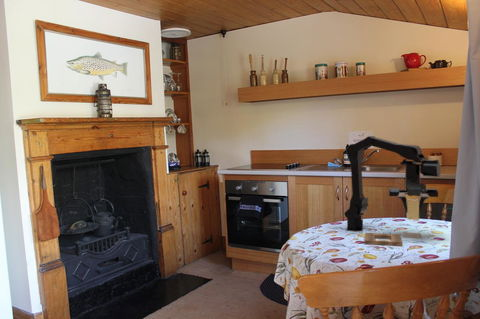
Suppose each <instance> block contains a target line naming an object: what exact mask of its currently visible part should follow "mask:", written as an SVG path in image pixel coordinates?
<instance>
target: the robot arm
mask: <svg viewBox="0 0 480 319" xmlns="http://www.w3.org/2000/svg"><path fill="white" fill-rule="evenodd" d="M371 147H375V148H378V149H382V150H385V151H389V152H392V153H395V154H397V155H398V156H400V157H402V158H404V159H403V160H402V161H401V162H400V163H399V164H400V165H401V166H403V165H404V166H405V167H404V168H405V169H404V171H405V175H404V176H405V177H404V179H405V182H404V183H405V189H400V188H399V187H389V188H388V196H389V197H397V198H398V199H401V201H402V204H403V207H404V209H405V212H406V214H407V198H406V195H407V196H409V197H413V196H414V197H418V200H419V214H420V213H421V211H422V208H423V205H424V202H425V201H426V200H427V199H429V197H430V198H438V197H439V190H438V189H436V188H434V187H427V183H421V175H422V176H423V177H431V178H432V177H433V178H439V177H441V173H442V168H441V164H440V160H439V159H427V158H426V156H425V155H424V153H423V150H422V149H421V147H420V146H419V145H416V144H408V143H407V144H404V143H403V144H402V143H398V142H395V141H390V140H387V139H383V138H379V137H376V136H374V135H369V136H366V138H363V139H362V140H360V141H358V142H355V143H352V144H351V143H350V144H349V145H348V146H347V147H346V151H345V152H346V156H347V159H348V162H349V163H350V174H351V177H350V179H351V192H352V194H351V197H350V200H349V208H347V210H346V211H345V212H344V216H345V218H346V221H347V222H346V224H347V225H346V226H347V228H346V231H350V232H352V231H353V232H362V231H363V229H364V219H363V217H362V216H363V215H364V213H365V212H366V211H367V210H368V207H369V199H368V197H366V196H365V195H364V189H363V172H362V171H363V170H362V162H363V159H364V158H365V157H364V155H365V151H367V150H368V149H369V148H371Z"/></svg>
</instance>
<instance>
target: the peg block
mask: <svg viewBox="0 0 480 319" xmlns="http://www.w3.org/2000/svg"><path fill="white" fill-rule="evenodd" d="M406 204H407V213H406V219H407V220H410V221H411V220H414V221H419V220H420V213H419V198H406Z"/></svg>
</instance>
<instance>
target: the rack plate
mask: <svg viewBox="0 0 480 319" xmlns="http://www.w3.org/2000/svg"><path fill="white" fill-rule="evenodd" d="M364 245H369V246H370V245H371V246H390V247H396V248H395V250H396V249H399V248H397V247H403V239H402V235H401V234H400V233H399V234H397V233H383V232H382V233H381V232H379V233H378V232H364ZM378 248H380V249H381V248H382V247H378Z"/></svg>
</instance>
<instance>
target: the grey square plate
mask: <svg viewBox="0 0 480 319" xmlns="http://www.w3.org/2000/svg"><path fill="white" fill-rule="evenodd" d="M402 234H403V238H404V239H405V238H406V239H407V238H410V239H423V236H422V233H420V232H402Z"/></svg>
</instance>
